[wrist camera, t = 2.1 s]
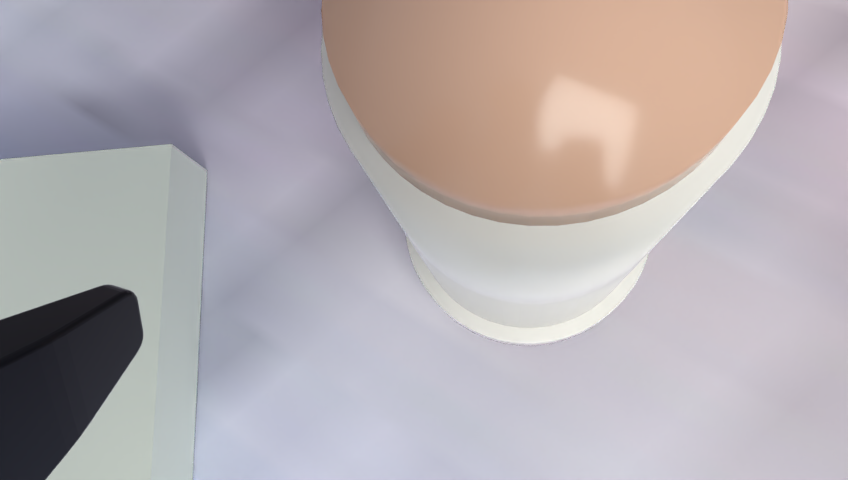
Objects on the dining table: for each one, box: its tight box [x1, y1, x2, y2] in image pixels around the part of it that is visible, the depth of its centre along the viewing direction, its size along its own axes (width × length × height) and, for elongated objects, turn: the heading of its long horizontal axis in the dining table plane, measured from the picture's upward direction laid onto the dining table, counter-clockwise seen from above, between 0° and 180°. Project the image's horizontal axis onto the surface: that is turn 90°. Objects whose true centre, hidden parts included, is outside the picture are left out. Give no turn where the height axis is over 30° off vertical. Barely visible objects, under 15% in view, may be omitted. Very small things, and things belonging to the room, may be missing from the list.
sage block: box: [0, 144, 207, 480], centre depth 21 cm, size 12×10×2 cm
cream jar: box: [321, 0, 788, 346], centre depth 15 cm, size 7×7×13 cm
